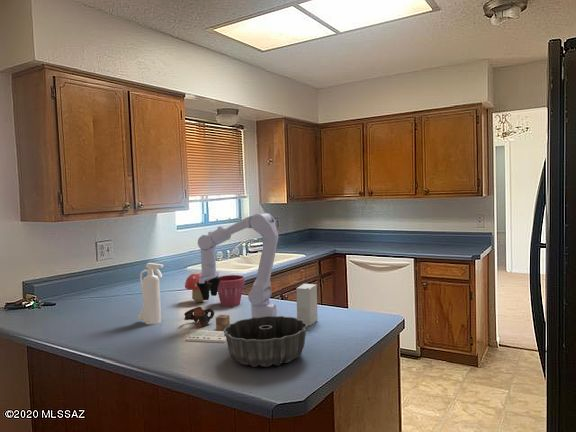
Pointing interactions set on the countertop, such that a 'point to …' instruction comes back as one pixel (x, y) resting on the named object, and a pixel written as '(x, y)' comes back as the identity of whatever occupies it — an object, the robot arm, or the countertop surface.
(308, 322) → the skincare box
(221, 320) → the walnut block
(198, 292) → the decorative mushroom
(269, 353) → the bundt pan
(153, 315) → the fire extinguisher
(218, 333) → the board
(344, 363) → the countertop surface
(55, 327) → the countertop surface
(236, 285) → the plant pot
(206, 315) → the pottery mug
